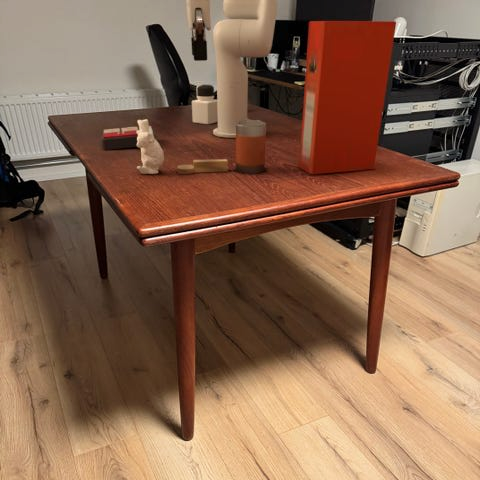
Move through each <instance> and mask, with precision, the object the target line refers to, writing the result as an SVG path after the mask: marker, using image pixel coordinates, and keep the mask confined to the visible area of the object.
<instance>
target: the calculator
mask: <svg viewBox="0 0 480 480" xmlns="http://www.w3.org/2000/svg"><path fill="white" fill-rule="evenodd" d="M137 130H140V127H139V126H128V127H121V128H118V127H117V128H108V129H106V128H105V129H103V131H102V133H101V134H102V135H101V141H102V145H103V150H104V151H109V150H119V149H128V148H138V147H137V142H138V141H137V137H138V134H137V133H136V131H137ZM149 133H152V134H153V135H154V138H155V139H156V140H157V138H156V133H155V130H154V128H153V126H151V125H149Z"/></svg>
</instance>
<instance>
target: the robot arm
mask: <svg viewBox="0 0 480 480" xmlns="http://www.w3.org/2000/svg"><path fill="white" fill-rule="evenodd" d="M185 1H186V2H185V4H186V14H187V15H186V16H187V23H188V28H189V30H190V31H191V37H190V40H191V41H190V42H191V55H192V57H193V61H195V62H199V61H200V62H203V61H208V41H207V35H206V30H207V31H208V32H209V31H211V29H212V23H211V4H210V3H211V2H210V0H185ZM222 9H223V13H224V15H225V17H226V19H221V20H220V21H217V23H216V24H215V25H214V27H213V30H212V40H213V47H214V54H215V64H216V95H217V96H216V100H217V111H218V122H217V127H216V128H214V129H213V130H212V134H213V135H214V136H215V137H219V138H225V139H236V123H238V122H239V121H245V120H251V118H248V105H249V103H248V102H249V101H248V99H249V98H248V97H249V95H248V93H249V91H248V90H249V74H248V69H247V68H246V65H245V64H244V62H243V61H242V60H241V58H265V57H267V56H268V55H270V53H271V50H272V47H273V40H274V34H275V27H276V26H275V25H276V20H277V13H278V0H223V2H222ZM255 120H256V121H261V120H260V119H255Z"/></svg>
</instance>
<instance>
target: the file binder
mask: <svg viewBox="0 0 480 480" xmlns="http://www.w3.org/2000/svg"><path fill="white" fill-rule="evenodd" d="M396 26H397V21H391V20H389V21H388V20H384V21H383V20H380V21H379V20H359V21H358V20H316V21H315V20H311V21H309V22H308V34H307V47H306V48H307V49H306V63H305V64H306V65H305V76H304V77H305V78H304V91H303V92H304V93H303V107H302V121H301V135H300V136H301V137H300V149H299V150H300V151H299V166H298V167H299V169H301V170H303V171H305V172H306V173H308V174H309V175H311V176H312V175H322V174H334V173H343V172H344V173H345V172H355V171H366V170H374V169H375V164H376V157H377V153H378V144H379V138H380V132H381V126H382V118H383V111H384V105H385V98H386V92H387V85H388V80H389V72H390V67H391V59H392V53H393V47H394V39H395V33H396Z"/></svg>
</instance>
